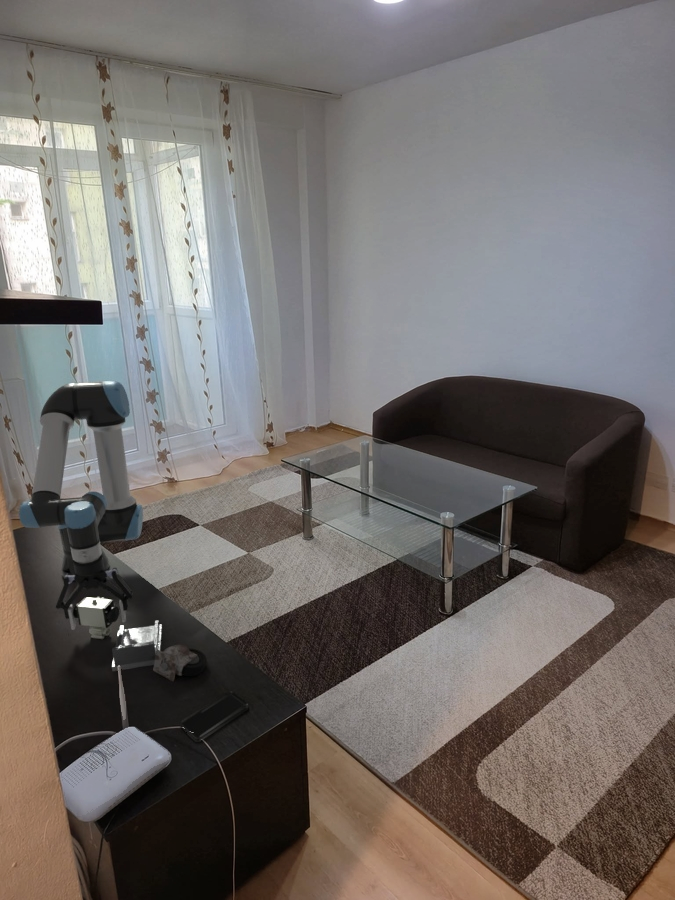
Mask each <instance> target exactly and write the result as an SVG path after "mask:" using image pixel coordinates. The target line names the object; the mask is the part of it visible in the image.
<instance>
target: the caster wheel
mask: <svg viewBox="0 0 675 900" xmlns="http://www.w3.org/2000/svg"><path fill="white" fill-rule="evenodd" d="M206 664H207V656H206V654H205V653H204V652H202V651H201V650H199V649H196V648H188V647H187V646H185V645H183V644H174V645H171V646H169V647H167V648H165V649H164V650H163V651H162V650H161V651H160V650H158V649H157V651H156V657H155V662H154V665H153V669H152V670H153V672H155V673H157V674H158V675H160V676H162V677H164V678H166V680H169V681H171V682H174V681H175V677H176V675H177V676H188V677H193V676H195V677H196V676H198V675H200V674H202V673H203V672H204V671H205V669H206Z"/></svg>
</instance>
